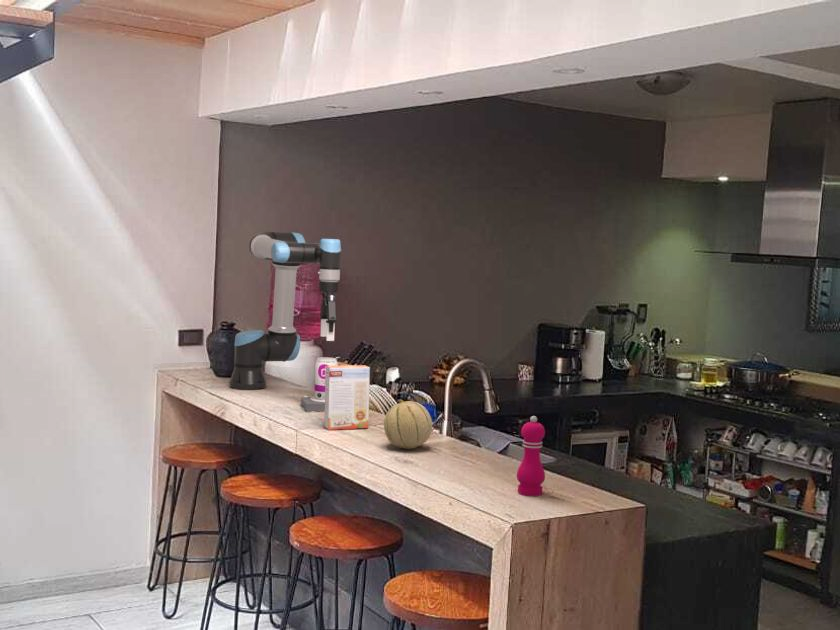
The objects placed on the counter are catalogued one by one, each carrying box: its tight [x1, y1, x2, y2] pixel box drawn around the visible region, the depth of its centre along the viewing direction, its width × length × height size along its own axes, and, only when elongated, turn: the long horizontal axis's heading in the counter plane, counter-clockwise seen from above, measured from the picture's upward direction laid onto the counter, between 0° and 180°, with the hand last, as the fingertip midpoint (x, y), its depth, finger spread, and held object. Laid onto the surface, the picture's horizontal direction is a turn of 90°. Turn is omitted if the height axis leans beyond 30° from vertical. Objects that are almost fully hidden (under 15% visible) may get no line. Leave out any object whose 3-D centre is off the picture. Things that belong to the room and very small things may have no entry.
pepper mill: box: [516, 415, 546, 497], centre depth 247 cm, size 7×7×20 cm
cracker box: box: [323, 364, 371, 431], centre depth 322 cm, size 14×6×21 cm, turn 110°
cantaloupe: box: [383, 398, 433, 450], centre depth 295 cm, size 15×15×15 cm
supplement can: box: [313, 356, 339, 400], centre depth 357 cm, size 8×8×15 cm
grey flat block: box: [300, 394, 325, 412], centre depth 358 cm, size 14×16×4 cm
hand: (327, 338), depth 356 cm, fingers open, 13 cm apart
